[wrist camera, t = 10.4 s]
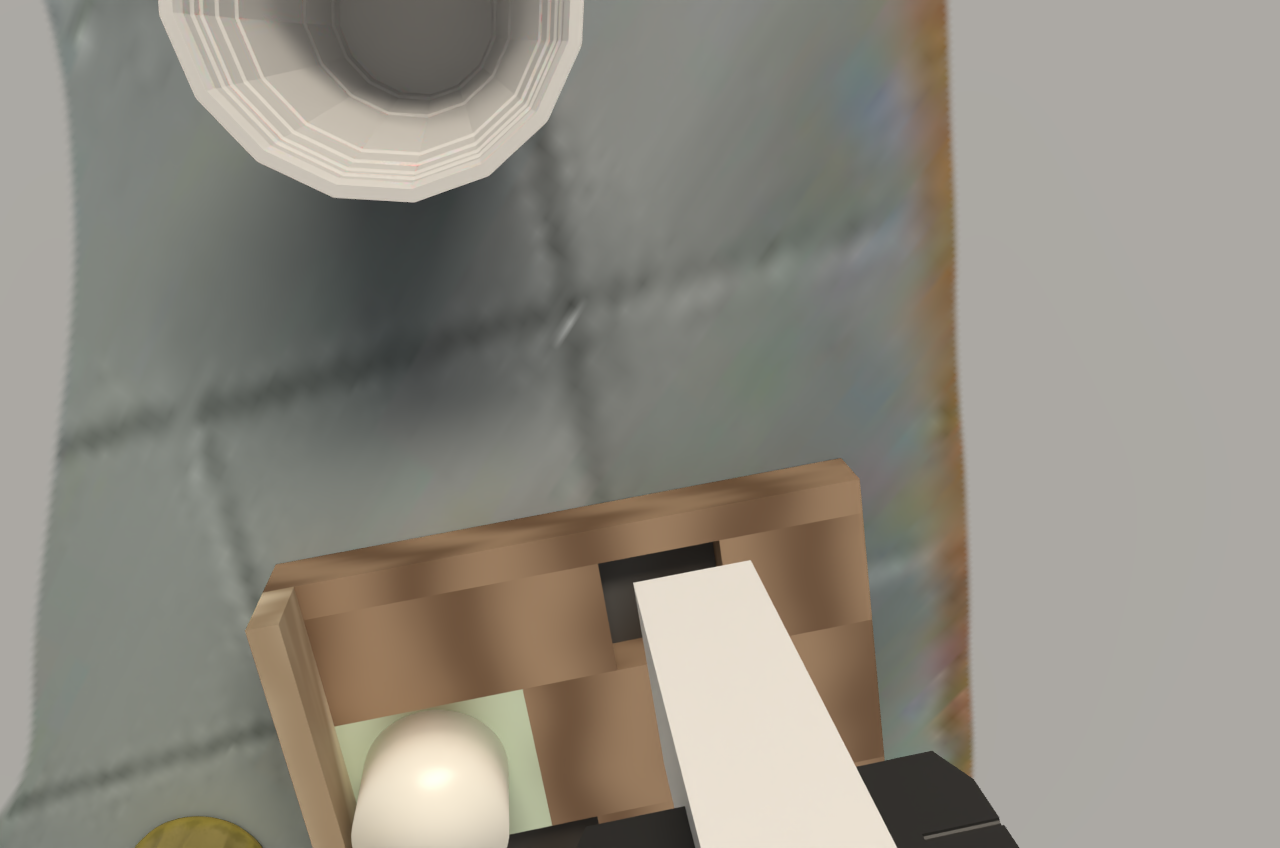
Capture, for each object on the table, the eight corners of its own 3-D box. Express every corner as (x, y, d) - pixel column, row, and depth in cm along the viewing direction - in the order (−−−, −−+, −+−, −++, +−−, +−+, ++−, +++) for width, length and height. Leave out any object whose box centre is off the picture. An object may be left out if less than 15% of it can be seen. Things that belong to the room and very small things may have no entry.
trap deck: (386, 940, 50) (372, 1040, 45) (275, 564, 44) (245, 630, 38) (876, 835, 52) (918, 920, 46) (840, 458, 45) (884, 507, 40)
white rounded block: (370, 836, 45) (358, 906, 41) (357, 715, 43) (344, 776, 40) (511, 823, 46) (512, 891, 42) (505, 704, 44) (505, 763, 40)
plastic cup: (365, -234, 35) (299, -380, 24) (623, -17, 38) (673, -55, 27) (192, 40, 37) (56, 25, 26) (450, 226, 40) (429, 285, 29)
